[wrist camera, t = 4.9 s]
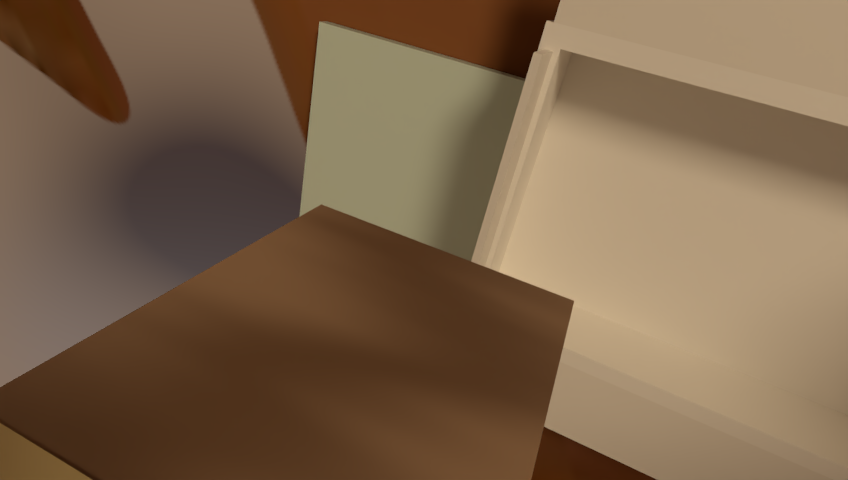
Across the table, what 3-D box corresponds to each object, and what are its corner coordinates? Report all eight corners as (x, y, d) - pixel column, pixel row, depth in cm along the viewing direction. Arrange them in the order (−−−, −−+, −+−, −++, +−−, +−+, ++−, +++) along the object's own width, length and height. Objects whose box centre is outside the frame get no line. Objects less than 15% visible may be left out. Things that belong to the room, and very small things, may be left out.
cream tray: (1394, 67, 11) (1869, 100, 7) (900, 519, 18) (973, 669, 14) (599, -86, 15) (578, -127, 11) (466, 330, 23) (424, 401, 19)
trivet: (547, 85, 18) (544, 87, 17) (480, 293, 22) (476, 300, 21) (327, 21, 20) (319, 21, 19) (305, 221, 24) (298, 226, 24)
